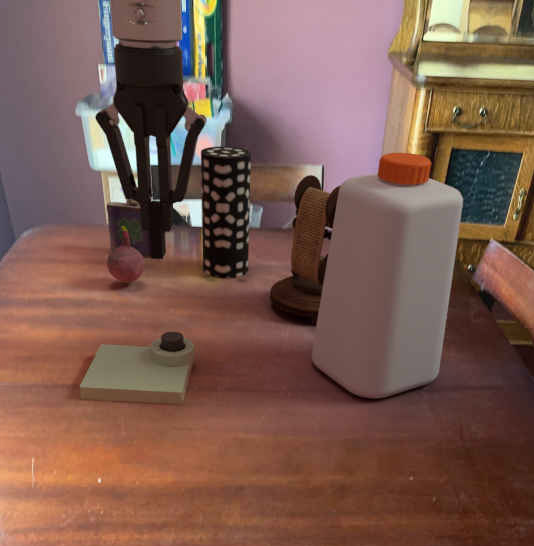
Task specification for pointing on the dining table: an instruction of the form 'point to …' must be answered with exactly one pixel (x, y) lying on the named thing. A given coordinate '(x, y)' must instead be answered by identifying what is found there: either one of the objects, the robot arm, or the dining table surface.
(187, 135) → the robot arm
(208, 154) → the white-spotted black cylinder
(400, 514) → the dining table surface
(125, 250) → the vegetable
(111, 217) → the flask
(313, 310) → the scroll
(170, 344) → the button
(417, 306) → the plastic bottle
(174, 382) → the scale
